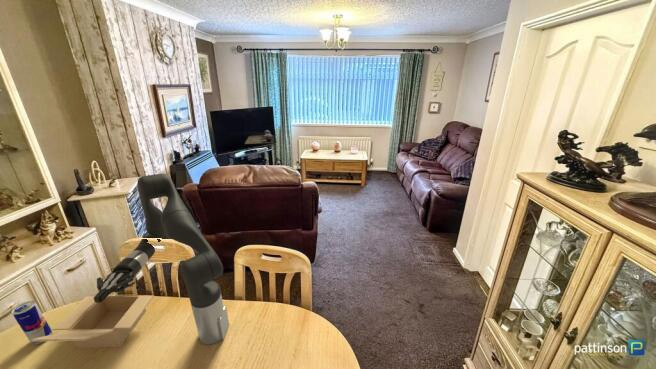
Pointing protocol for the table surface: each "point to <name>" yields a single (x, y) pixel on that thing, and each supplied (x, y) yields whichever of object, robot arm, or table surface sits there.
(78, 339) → the lid flap
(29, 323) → the beverage can
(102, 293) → the robot arm
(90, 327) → the carton
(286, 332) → the table surface
